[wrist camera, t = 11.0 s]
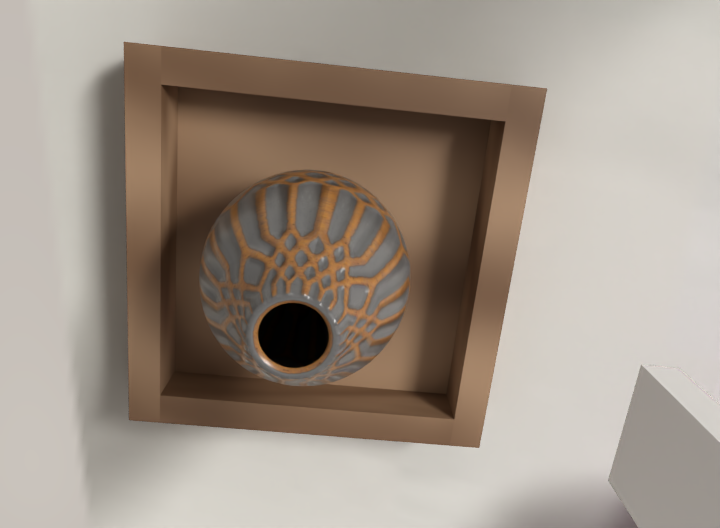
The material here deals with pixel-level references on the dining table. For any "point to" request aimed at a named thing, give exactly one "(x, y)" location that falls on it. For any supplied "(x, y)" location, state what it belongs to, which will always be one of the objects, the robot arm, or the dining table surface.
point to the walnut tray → (356, 162)
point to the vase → (304, 278)
